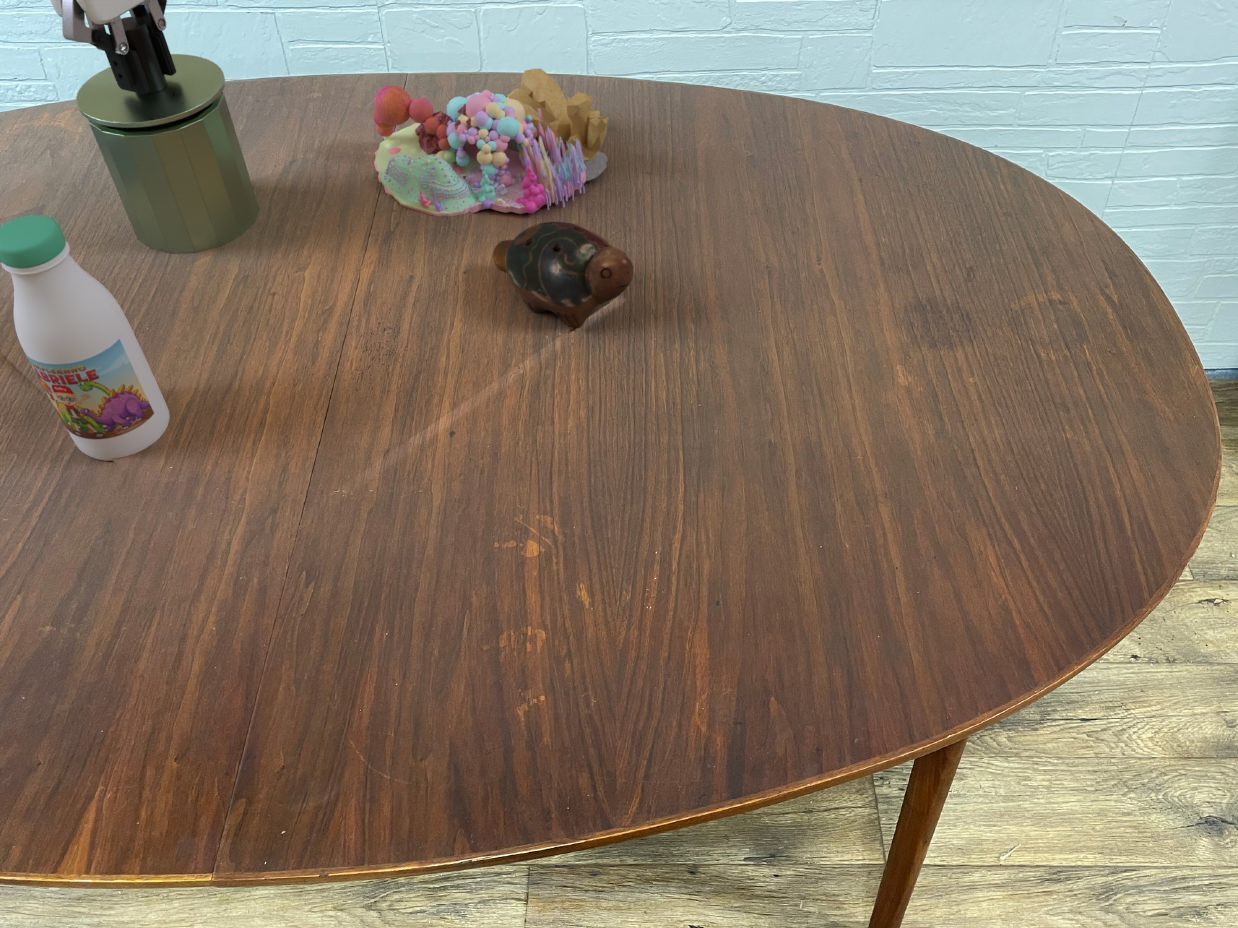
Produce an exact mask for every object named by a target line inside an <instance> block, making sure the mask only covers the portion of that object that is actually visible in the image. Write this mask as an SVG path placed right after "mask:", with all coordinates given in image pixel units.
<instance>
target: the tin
mask: <svg viewBox="0 0 1238 928" xmlns="http://www.w3.org/2000/svg"><path fill="white" fill-rule="evenodd" d="M87 120H88V124H89V127H90V129H91V131H92V134H93V136H94V139H95V140H96V143H97V145H98V149H99V150H100V153H101V155H102V157H103V160H104V162H105V165H106V168H107V170H108V172H109V174H110V177H111V179H112V181H113V184H114V187H115V189H116V192H117V193H118V196H119V198H120V202H121V203H122V205H123V208H124V210H125V212H126V215H127V218H128V220H129V223H130V224H131V227H132V230H133V231H134V234H135V237H136V238H137V240H138V241H139V242H140V243H142V244H143V245H145V246H146V247H147V248H149V249H150V250H154V251H158V252H162V253H167V254H195V253H200V252H204V251H208V250H212V249H215V248H220V247H222V246H225V245H226V244H228V243H230V242H232V241H234V240H236V239H238V238H240V237H242V235H244V234H245V233H246V232H247V231H248V230H249V229H250V228H251V227H253V225H255V223H256V221H257V219H258V214H259V212H260V206H259V203H258V199H257V197H256V193H255V190H254V185H253V183H252V181H251V176H250V174H249V169H248V167H247V164H246V160H245V158H244V154H243V151H242V148H241V144H240V140H239V138H238V135H237V131H236V128H235V125H234V121H233V118H232V115H231V112H230V109H229V105H228V102H227V99H226V96H225V93H224V90H223V91H222V93H221V94H220V96H219V97H218V98H217V99H216V100H215V101H214V102H212V103H211V104H210V105H208V106H207V107H205V108H204V109H202V110H200V111H198V112H196V113H194V114H192V115H190V116H187V117H184V118H182V119H179V120H175V121H172V122H168V123H164V124H159V125H154V126H147V127H135V128H122V127H111V126H105V125H101V124H98V123H95V122H92V121H91V120H89V119H87Z"/></svg>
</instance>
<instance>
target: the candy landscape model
mask: <svg viewBox="0 0 1238 928" xmlns="http://www.w3.org/2000/svg"><path fill="white" fill-rule="evenodd" d="M520 85H521V86H520V88H518V87H516V88H515V89H513V90H512V91H511V92H509V94H507V95H506V96H505V94H502V93H495V94H494V92H491V91H490V90H489V89H484V90H482V92H479V91H477V92H475V93H472V94H470V95H468V96H467V97H464V96H460V95H459V96H455V97H453V98H451V99H450V100H449V101H448V102H447V105H446V113H444V111H443V110H439V111H435V112H434V107H433V104H432V103H431V102H430V100H428V99H427V98H424V97H416V98H414V99H412V98H411V95H410V94H409V93H408V91H407V90H405V89H404V88H403V87H401V86H398V85H387V86H385V87H382V88H381V89H379V90H378V91H377V93H376V95H375V97H374V99H373V100H374V101H373V105H374V106H373V107H374V110H373V115H372V116H373V121H374V123H375V125H376V131H377V134H378V135H379V136H381V137H382V138H383V139H384V140H382V141H381V142H380V143H379V146H378V149H376V150H375V152H374V155H375V158H374V159H375V160H374V161H373V164H374V168H375V172H376V173H378V174H377V177H378V182H379V183H381V184H382V187H383V188H384V192H385V194H386V195H388V196H391V197H393V198H394V200H395V201H396V202H398V203H399V206H402V207H405V208H408V209H411V210H414V211H417V212H421V213H423V214H427V215H431V216H434V217H449V218H450V217H453V216H461V215H465V214H467V213H471V214H475V213H477V212H479V211H483V210H489V209H490V210H493V211H497V212H501V213H507V214H508V213H515V214H519V215H522V214H526V213H528V214H534V213H536V212H537V211H538V210H540V208H543V206H544V205H546V208H547V211H550V207H551V206H552V204H554V203H555V205H556V206H558V205H559V202H562V203H561V204H562V208H565V207H566V202H568V199H569V198H571V197H572V198H571V199H572V201H573V202H574V201H575V191H577V190H578V191H579V192H578V193H579V194H585V193H586V189H585V188H586V187H585V183H586V182H589V181H591V180H594V179H596V178H598V177H599V176H600V175H601V174H602V173H603V172H604V171H605V170H606V169H607V168H608V165H607V162H608V160H609V158H608V157H607V154H606V153H604V152H602V151H600V148H601V147H602V146H603V143H604V140H605V138H606V136H607V133H608V123H609V119H610V118H609V116H602V115H601V110H591V109H592V107H593V103H594V97H592V96H590V95H589V94H588V93H585V92H581V91H578V92H577V93H575V94H574V95H573V96H572V97H569V96H567V98H566V97H565V95H564V93H563V90H562V88H561V87H560V86H559V84H558V83H557V82H556V81H555V80H554V78H553V77H551V76H550V74H548V73H547V72H546V71H545V70H543V69H542V68H530V69H525V70H524V72H523V73H522V75H521V84H520ZM410 119H411V120H412V121H413V122H414V123H412V124H411V125H409V126H407V127H404V128H401V129H399V130H397V131H394V129H395V127H396V126H400V125H403V124H405V123H406V122H408V121H409V120H410ZM565 201H566V202H565Z"/></svg>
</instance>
